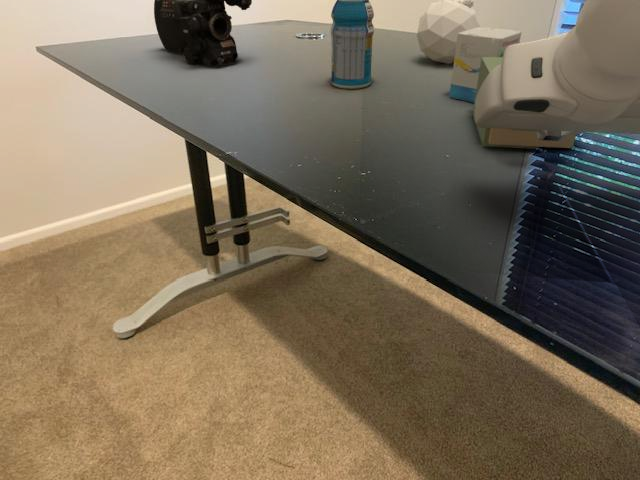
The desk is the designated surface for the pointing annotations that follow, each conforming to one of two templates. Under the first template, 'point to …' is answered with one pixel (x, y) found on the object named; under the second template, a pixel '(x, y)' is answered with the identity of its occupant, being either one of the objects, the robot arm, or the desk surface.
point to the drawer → (525, 138)
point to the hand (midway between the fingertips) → (549, 135)
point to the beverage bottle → (351, 43)
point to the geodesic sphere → (445, 28)
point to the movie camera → (198, 29)
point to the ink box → (477, 57)
